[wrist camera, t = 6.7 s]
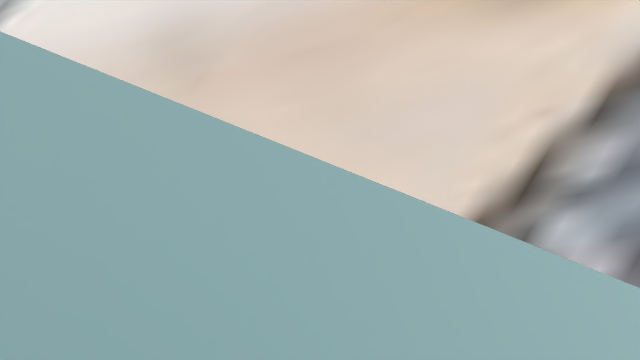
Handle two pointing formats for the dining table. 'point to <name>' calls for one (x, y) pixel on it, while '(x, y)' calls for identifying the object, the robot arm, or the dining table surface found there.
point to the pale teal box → (251, 246)
